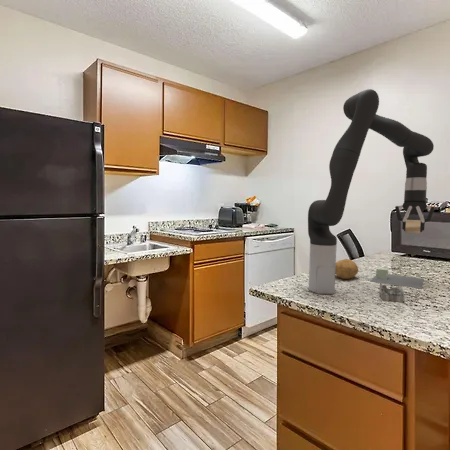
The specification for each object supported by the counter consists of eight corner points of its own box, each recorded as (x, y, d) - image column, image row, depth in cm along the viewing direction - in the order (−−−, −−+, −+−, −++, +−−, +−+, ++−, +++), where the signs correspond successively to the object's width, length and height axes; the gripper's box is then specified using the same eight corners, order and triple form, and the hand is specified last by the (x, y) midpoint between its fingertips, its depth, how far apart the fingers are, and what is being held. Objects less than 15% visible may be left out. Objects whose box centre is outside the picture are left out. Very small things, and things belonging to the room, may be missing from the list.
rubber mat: (421, 290, 115) (421, 288, 115) (369, 282, 126) (369, 281, 126) (424, 279, 132) (424, 278, 132) (378, 273, 142) (378, 272, 142)
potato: (328, 280, 129) (329, 261, 128) (337, 274, 140) (338, 257, 140) (352, 283, 123) (353, 264, 123) (360, 277, 135) (361, 259, 134)
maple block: (419, 233, 121) (420, 220, 121) (405, 232, 124) (405, 220, 124) (420, 232, 125) (421, 220, 125) (406, 231, 128) (407, 219, 128)
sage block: (386, 279, 129) (386, 270, 129) (376, 278, 131) (376, 268, 131) (387, 277, 132) (388, 268, 132) (377, 276, 135) (378, 267, 134)
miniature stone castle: (378, 292, 112) (379, 282, 112) (401, 295, 109) (402, 284, 109) (379, 300, 103) (380, 288, 102) (404, 303, 100) (405, 291, 99)
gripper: (394, 189, 124) (391, 231, 126) (436, 188, 116) (434, 233, 117) (396, 190, 131) (394, 229, 132) (437, 189, 122) (434, 232, 124)
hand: (413, 231), depth 125 cm, fingers closed on maple block, 5 cm apart
